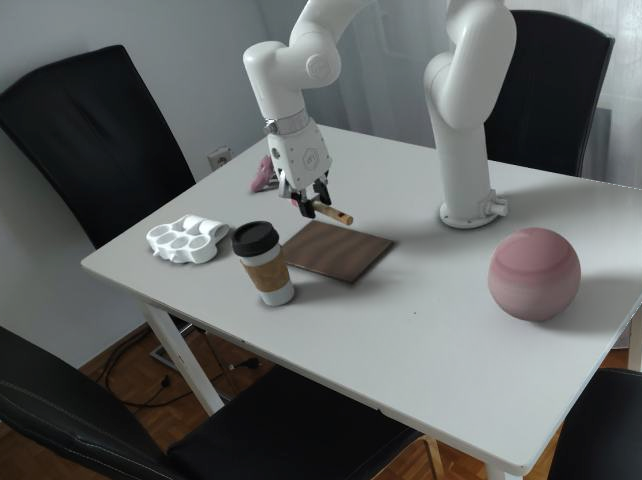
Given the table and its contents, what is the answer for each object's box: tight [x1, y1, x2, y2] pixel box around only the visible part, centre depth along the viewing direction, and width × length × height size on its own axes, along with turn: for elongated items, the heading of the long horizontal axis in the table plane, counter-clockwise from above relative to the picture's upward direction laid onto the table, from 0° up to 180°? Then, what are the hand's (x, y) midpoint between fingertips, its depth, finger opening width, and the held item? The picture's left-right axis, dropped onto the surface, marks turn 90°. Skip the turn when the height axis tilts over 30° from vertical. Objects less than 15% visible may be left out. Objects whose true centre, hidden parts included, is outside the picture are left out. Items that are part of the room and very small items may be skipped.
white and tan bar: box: [277, 186, 354, 227], centre depth 122 cm, size 4×3×20 cm
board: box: [281, 219, 395, 286], centre depth 129 cm, size 22×14×1 cm, turn 57°
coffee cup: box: [230, 220, 295, 307], centre depth 116 cm, size 8×8×15 cm
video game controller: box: [249, 154, 275, 193], centre depth 153 cm, size 10×5×7 cm, turn 179°
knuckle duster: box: [146, 214, 230, 265], centre depth 138 cm, size 3×18×15 cm
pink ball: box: [486, 226, 582, 322], centre depth 103 cm, size 15×15×15 cm
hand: (317, 209), depth 123 cm, fingers closed on white and tan bar, 4 cm apart
